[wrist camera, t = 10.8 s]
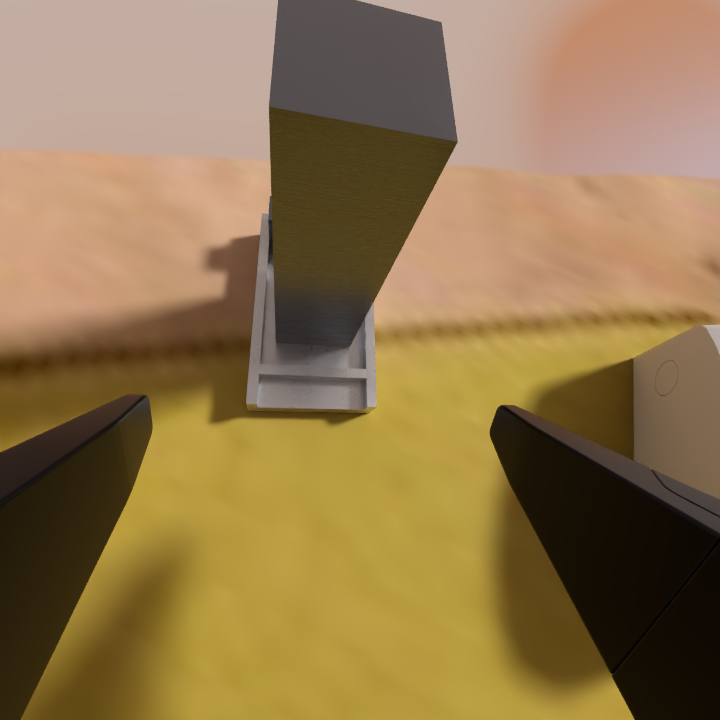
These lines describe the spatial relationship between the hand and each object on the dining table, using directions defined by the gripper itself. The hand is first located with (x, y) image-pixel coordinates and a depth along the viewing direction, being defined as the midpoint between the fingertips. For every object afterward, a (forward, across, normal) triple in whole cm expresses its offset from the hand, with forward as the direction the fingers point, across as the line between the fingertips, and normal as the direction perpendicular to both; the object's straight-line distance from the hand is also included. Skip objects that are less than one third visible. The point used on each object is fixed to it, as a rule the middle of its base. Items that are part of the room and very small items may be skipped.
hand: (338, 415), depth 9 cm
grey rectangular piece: (+12, 0, +2) cm, 13 cm away
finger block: (+12, 0, +1) cm, 12 cm away
